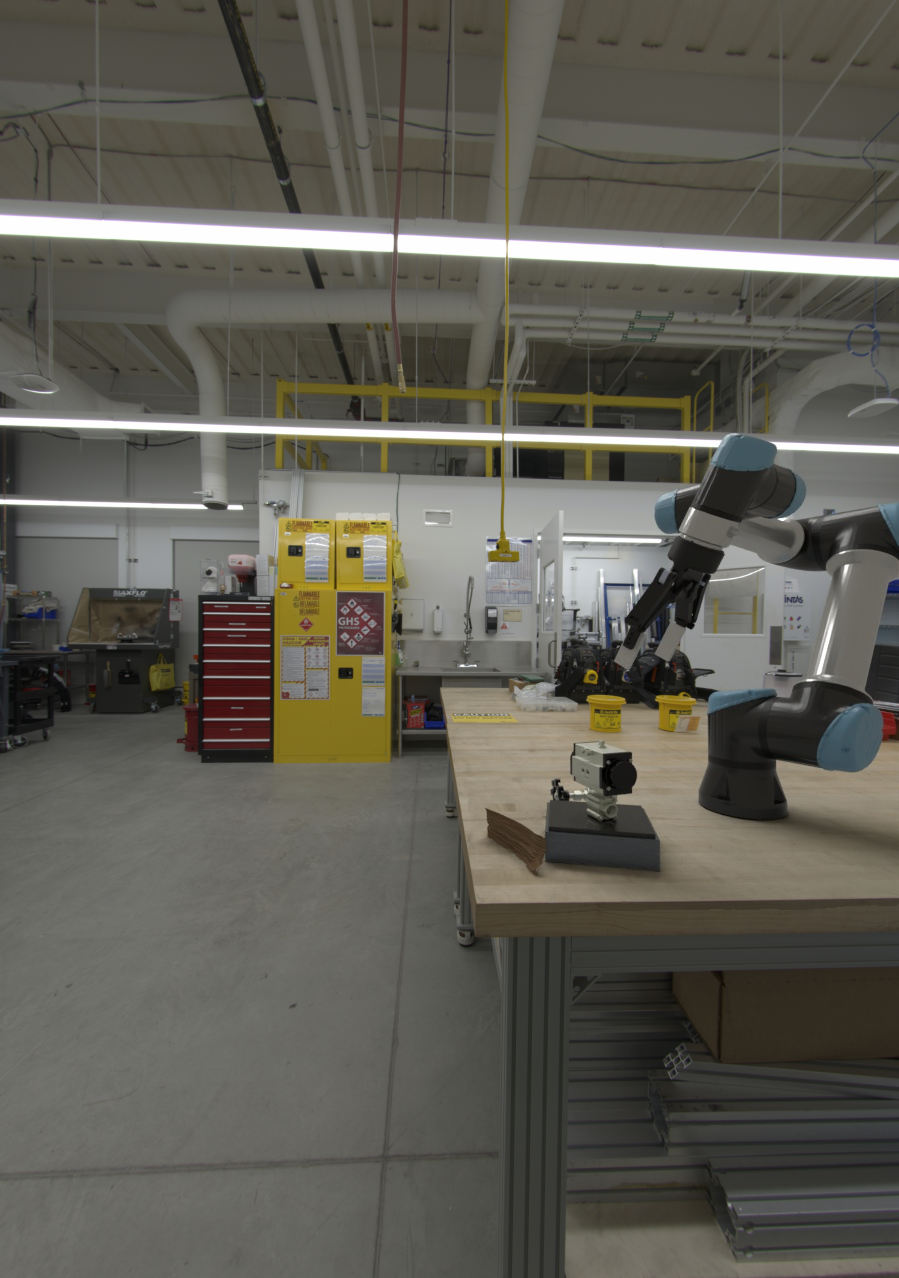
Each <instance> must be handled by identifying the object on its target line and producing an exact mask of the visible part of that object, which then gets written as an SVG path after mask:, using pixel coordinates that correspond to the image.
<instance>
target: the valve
mask: <svg viewBox="0 0 899 1278" xmlns="http://www.w3.org/2000/svg"><path fill="white" fill-rule="evenodd" d="M559 783H561V778H554V779H552V780H551V786H552V788H550V790H549V791H550V795H551V796H552V800H560V801H570V800H571V799H572V800H573V801H576V802H582V801H583V802H586V800H587V794H588V793H592V794H594V793H598V792H596V791H594V790H589V788H588V787H586V786H585V789H584V790H583V791H581V790H573V791H572V792H569V790H565V789H564V785H559ZM613 796H614V797H616V798H617V799H618V795H613ZM581 800H582V801H581Z"/></svg>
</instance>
